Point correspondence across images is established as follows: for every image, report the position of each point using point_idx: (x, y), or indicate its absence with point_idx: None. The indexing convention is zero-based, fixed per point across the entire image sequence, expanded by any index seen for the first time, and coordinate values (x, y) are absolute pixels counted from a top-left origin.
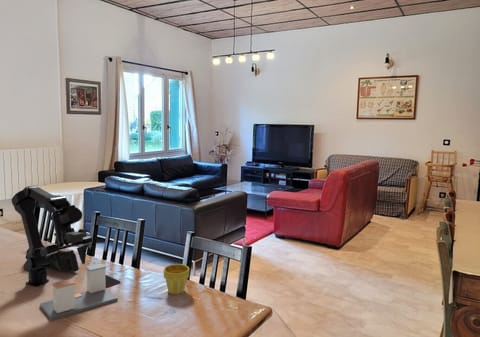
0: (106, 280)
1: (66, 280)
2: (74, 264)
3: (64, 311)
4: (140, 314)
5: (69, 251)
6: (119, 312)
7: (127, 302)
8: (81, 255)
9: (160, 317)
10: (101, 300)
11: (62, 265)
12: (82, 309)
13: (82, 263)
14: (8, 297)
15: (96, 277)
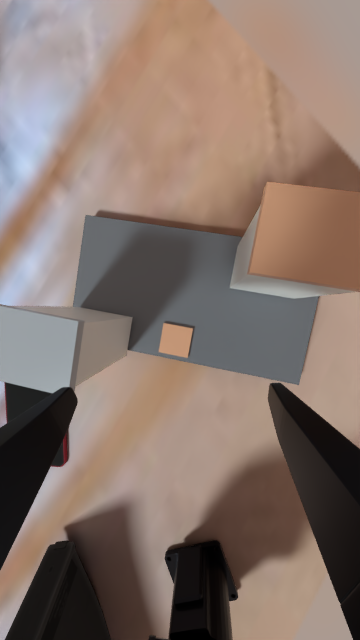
0: (31, 388)
1: (287, 267)
2: (46, 583)
3: None
4: (98, 71)
5: None
6: (136, 136)
7: (77, 183)
8: (13, 478)
9: (67, 3)
10: (136, 238)
11: (79, 621)
12: (214, 234)
13: (74, 405)
14: None
15: (76, 314)
